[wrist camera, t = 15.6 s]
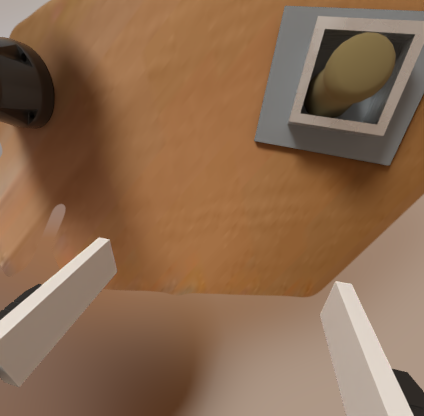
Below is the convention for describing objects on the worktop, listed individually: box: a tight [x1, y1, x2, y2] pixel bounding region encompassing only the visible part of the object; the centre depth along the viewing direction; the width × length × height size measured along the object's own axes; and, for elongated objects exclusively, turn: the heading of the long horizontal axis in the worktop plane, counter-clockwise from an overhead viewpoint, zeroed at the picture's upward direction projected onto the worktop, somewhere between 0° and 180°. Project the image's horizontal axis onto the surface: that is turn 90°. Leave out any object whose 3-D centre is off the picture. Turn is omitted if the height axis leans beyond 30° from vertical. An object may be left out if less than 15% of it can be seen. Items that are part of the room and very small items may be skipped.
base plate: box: [254, 6, 424, 166], centre depth 27 cm, size 18×16×1 cm
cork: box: [304, 32, 396, 118], centre depth 22 cm, size 6×6×11 cm
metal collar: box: [287, 16, 424, 137], centre depth 24 cm, size 10×10×5 cm
